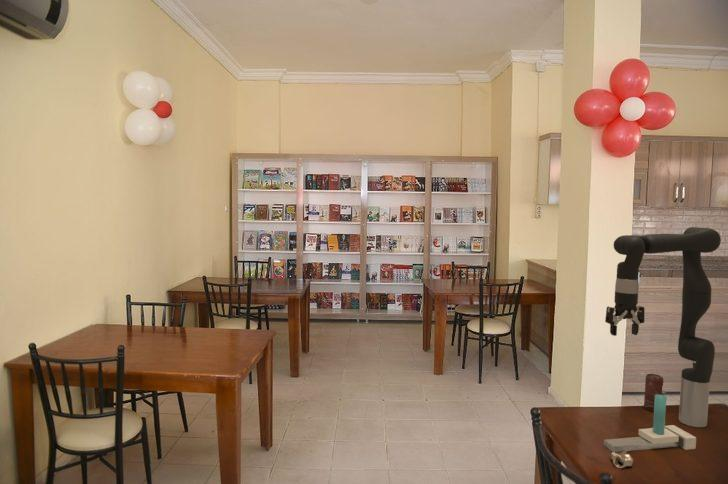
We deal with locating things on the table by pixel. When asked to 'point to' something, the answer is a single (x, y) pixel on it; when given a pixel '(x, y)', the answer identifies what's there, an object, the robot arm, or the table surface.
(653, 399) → the can
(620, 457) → the silver metal fitting
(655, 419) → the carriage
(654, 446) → the rail
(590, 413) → the table surface
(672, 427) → the end stop
